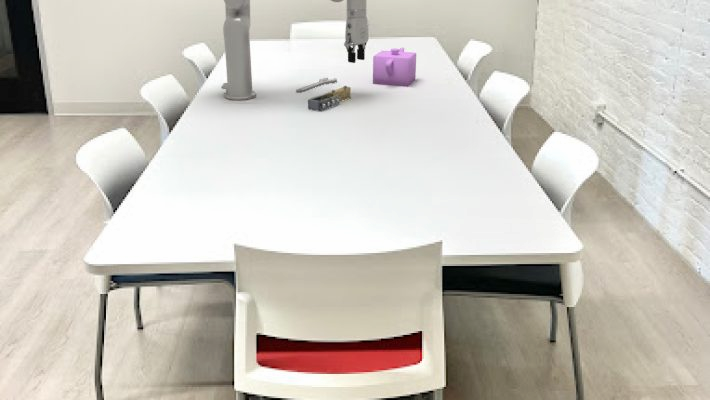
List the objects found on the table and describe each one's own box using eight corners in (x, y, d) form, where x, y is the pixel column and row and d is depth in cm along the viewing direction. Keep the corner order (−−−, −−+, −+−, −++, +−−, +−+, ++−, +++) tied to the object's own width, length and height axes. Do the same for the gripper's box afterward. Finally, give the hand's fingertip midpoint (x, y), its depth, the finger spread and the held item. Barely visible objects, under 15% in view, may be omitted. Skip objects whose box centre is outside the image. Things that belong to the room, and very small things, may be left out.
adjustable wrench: (300, 94, 301) (300, 90, 300) (288, 92, 305) (288, 88, 304) (339, 82, 319) (339, 78, 319) (327, 80, 323) (327, 76, 322)
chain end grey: (317, 104, 285) (317, 95, 284) (325, 101, 289) (325, 92, 288) (332, 107, 281) (332, 98, 280) (340, 104, 285) (340, 95, 284)
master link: (327, 104, 286) (327, 91, 284) (345, 97, 296) (345, 84, 294) (332, 105, 285) (332, 92, 283) (350, 98, 294) (350, 85, 293)
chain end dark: (306, 108, 280) (306, 99, 278) (316, 105, 284) (316, 96, 283) (322, 111, 276) (321, 102, 275) (331, 107, 281) (331, 98, 279)
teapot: (419, 76, 329) (420, 44, 324) (404, 89, 307) (405, 55, 302) (385, 73, 334) (386, 42, 328) (369, 86, 312) (369, 52, 306)
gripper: (352, 17, 279) (352, 66, 286) (376, 11, 292) (376, 58, 299) (335, 15, 283) (335, 63, 290) (360, 10, 296) (360, 56, 303)
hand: (356, 60), depth 294 cm, fingers open, 5 cm apart
